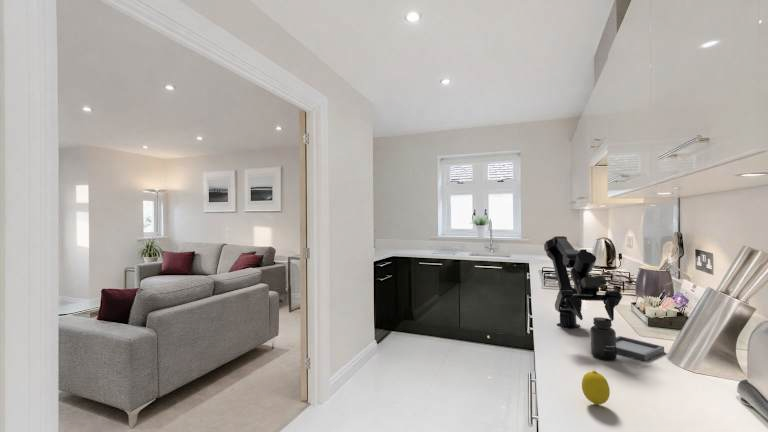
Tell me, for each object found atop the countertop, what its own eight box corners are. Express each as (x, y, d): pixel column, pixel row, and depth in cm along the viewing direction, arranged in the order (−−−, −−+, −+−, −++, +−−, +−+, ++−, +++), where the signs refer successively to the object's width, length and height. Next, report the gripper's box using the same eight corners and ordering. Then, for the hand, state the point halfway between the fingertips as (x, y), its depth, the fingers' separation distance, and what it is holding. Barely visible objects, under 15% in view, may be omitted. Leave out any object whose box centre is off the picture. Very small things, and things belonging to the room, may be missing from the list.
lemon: (599, 398, 81) (597, 365, 81) (616, 411, 75) (614, 375, 75) (577, 399, 80) (575, 366, 81) (592, 412, 75) (590, 376, 75)
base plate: (620, 340, 119) (619, 335, 119) (664, 352, 107) (664, 346, 107) (600, 348, 112) (599, 343, 112) (645, 361, 101) (644, 355, 101)
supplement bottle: (613, 363, 100) (610, 323, 101) (588, 356, 106) (586, 319, 106) (620, 357, 105) (617, 318, 105) (595, 351, 110) (593, 315, 110)
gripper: (558, 267, 117) (571, 305, 106) (617, 267, 113) (637, 307, 102) (553, 285, 125) (564, 323, 113) (608, 286, 121) (625, 325, 109)
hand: (597, 319), depth 109 cm, fingers open, 9 cm apart
